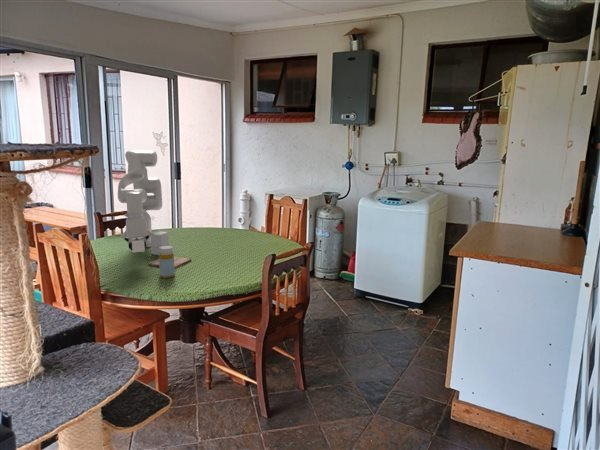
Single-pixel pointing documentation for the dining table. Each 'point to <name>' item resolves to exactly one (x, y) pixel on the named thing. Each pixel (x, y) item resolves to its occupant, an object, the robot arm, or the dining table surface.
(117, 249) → the dining table surface
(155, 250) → the supplement box
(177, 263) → the brown rectangular plate
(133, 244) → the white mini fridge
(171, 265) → the bottle
